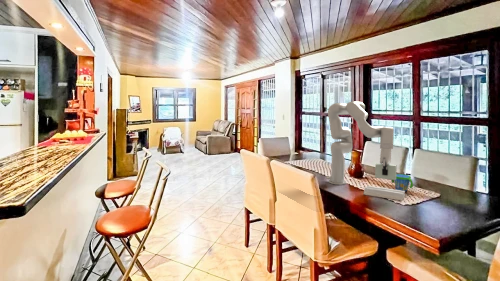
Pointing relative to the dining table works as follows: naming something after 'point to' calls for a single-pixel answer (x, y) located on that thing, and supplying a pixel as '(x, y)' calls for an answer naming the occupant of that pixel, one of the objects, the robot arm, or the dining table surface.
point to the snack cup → (402, 182)
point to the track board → (384, 192)
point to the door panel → (391, 171)
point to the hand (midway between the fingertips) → (385, 174)
